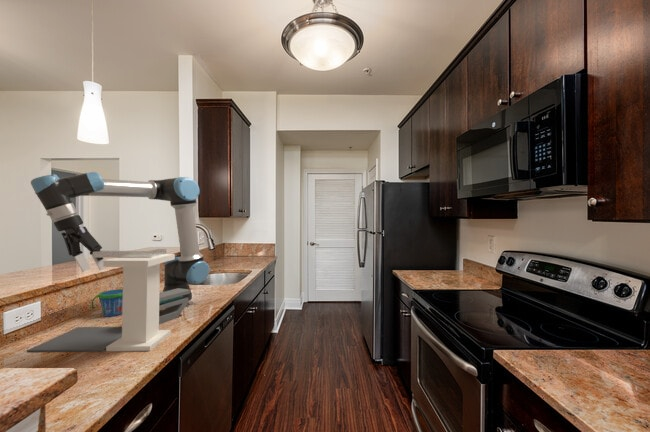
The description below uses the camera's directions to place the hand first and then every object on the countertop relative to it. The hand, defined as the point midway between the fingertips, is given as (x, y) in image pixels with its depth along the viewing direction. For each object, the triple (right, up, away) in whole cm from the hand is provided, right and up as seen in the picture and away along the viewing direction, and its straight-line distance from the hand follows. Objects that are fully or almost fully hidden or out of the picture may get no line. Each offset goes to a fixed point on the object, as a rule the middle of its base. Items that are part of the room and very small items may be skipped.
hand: (95, 269), depth 108 cm
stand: (+22, -24, -8) cm, 34 cm away
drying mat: (+2, -24, -5) cm, 25 cm away
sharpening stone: (+16, -25, +13) cm, 33 cm away
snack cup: (-9, -25, +21) cm, 34 cm away
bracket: (+16, +6, -4) cm, 18 cm away
